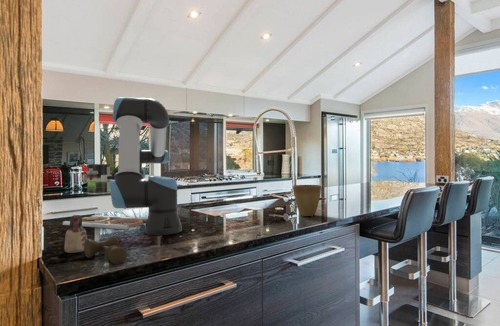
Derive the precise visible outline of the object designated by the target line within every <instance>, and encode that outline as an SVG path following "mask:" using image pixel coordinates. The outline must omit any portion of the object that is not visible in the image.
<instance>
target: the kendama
mask: <svg viewBox="0 0 500 326" xmlns="http://www.w3.org/2000/svg"><path fill="white" fill-rule="evenodd" d="M119 242H120V241H119V238H118V237H117V236H116V235H112V236H110V237H109V238H108V239H105V240H102V241H96V240H94V239H90V238H87V239H86V240H85V243H84V251H83V252H84V254H85V255H84V256H85V257H86V258H87V259H91V258H92V257H94V256H95V255H96V254H98V253H101V252H104V253H105V258H106V259H107V260H109V261H110V263H111V264H112V265H118V264H122V263H124V262H125V261H126V259H127V256H128V252H127V249H126V248H125V247H123V246H122V247H121V246H120V243H119Z"/></svg>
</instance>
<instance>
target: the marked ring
mask: <svg viewBox="0 0 500 326" xmlns="http://www.w3.org/2000/svg"><path fill="white" fill-rule="evenodd" d="M134 218H135V217H131V218H127V219H116V220H110V221H108V222H107V223H106V224H113V225H127V226H129V228H132V227H135V228H136V227H138V226H141V225H143V224H144V222H143V221H142V220H141V219H134ZM129 222H130V223H129ZM121 223H122V224H121Z"/></svg>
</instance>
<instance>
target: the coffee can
mask: <svg viewBox="0 0 500 326" xmlns="http://www.w3.org/2000/svg"><path fill="white" fill-rule="evenodd" d="M86 166H87V167H86V168H87V171H86V173H87V174H86V175H87V180H86V182H87V184H86V185H87V186H86V187H87V192H86V193H87V195H106V194H107V195H108V194H111V192H110V180H108V181H101V175H110V173H111V164H109V163H106V164H104V163H102V164H101V163H100V164H99V163H97V164H96V163H95V164H93V163H91V164H90V163H89V164H86Z"/></svg>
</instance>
